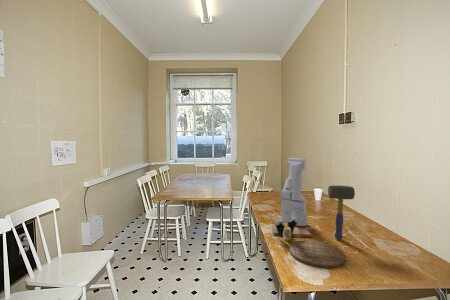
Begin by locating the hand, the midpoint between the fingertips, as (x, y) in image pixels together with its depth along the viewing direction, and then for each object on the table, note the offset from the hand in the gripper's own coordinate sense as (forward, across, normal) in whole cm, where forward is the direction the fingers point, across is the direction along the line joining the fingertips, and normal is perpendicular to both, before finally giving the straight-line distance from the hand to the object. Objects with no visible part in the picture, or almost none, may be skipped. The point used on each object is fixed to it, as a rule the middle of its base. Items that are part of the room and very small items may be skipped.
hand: (285, 235), depth 136 cm
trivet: (+2, +1, +21) cm, 21 cm away
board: (+2, -8, -4) cm, 9 cm away
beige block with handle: (+2, -2, -2) cm, 4 cm away
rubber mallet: (+2, -26, +15) cm, 30 cm away
